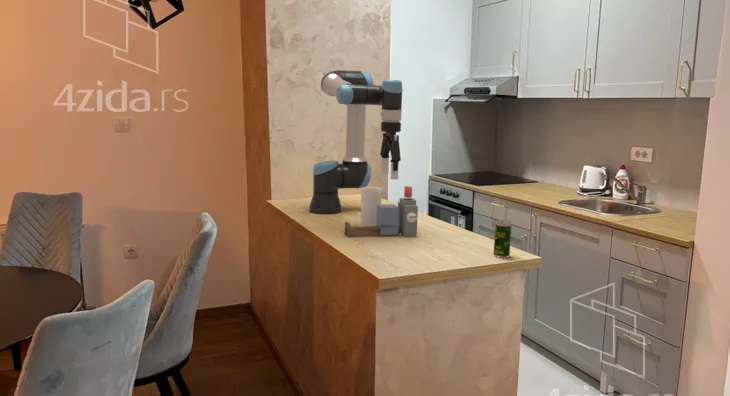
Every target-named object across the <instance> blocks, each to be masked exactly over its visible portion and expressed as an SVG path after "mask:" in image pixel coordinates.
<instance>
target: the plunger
mask: <svg viewBox="0 0 730 396" xmlns="http://www.w3.org/2000/svg"><path fill="white" fill-rule="evenodd" d="M403 195H404V196H403V198H413V186H410V185H408V186H407V185H406V186H404V193H403Z"/></svg>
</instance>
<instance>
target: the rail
mask: <svg viewBox="0 0 730 396" xmlns="http://www.w3.org/2000/svg"><path fill="white" fill-rule="evenodd" d="M344 235H345V237H347V238H350V237H351V238H352V237H353V238H355V237H382V236H385V237H387V236H388V235H380V227H379V226H361V225H360V226H351V224H350V222H349V221H344ZM397 236H401V234H400V227H399V226H398V235H397Z"/></svg>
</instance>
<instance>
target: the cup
mask: <svg viewBox="0 0 730 396" xmlns="http://www.w3.org/2000/svg"><path fill="white" fill-rule="evenodd" d="M360 189H361V196H360V197H361V198H360V226H377V205H382V188H381V187H377V186H366V187H363V188H360Z"/></svg>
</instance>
